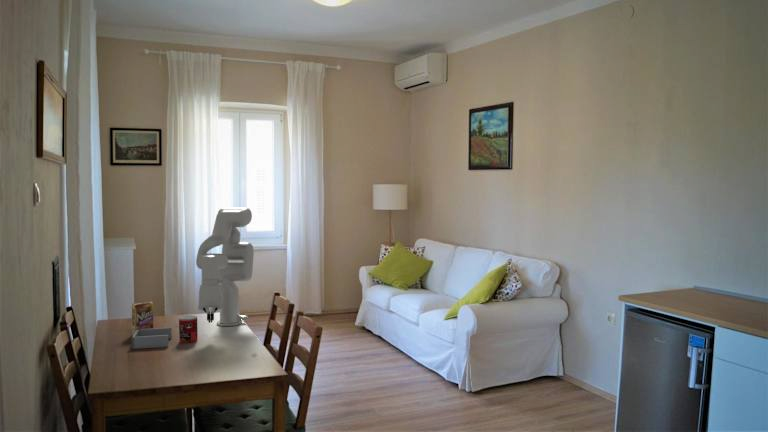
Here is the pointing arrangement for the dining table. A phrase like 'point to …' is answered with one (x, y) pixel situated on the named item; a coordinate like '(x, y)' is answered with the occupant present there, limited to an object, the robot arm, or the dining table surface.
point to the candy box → (142, 316)
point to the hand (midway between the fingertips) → (210, 321)
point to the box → (151, 338)
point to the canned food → (188, 329)
